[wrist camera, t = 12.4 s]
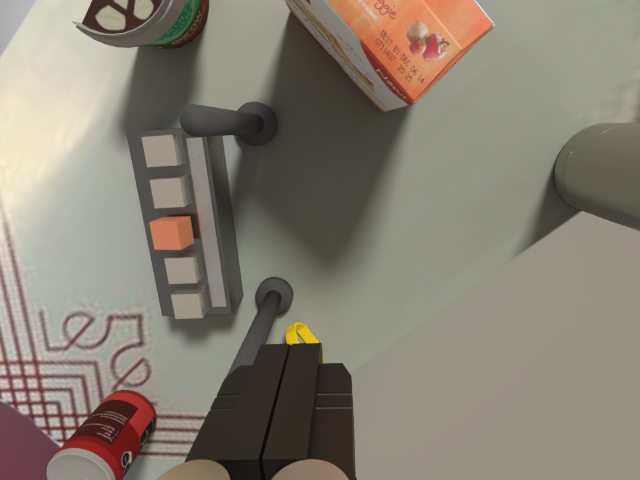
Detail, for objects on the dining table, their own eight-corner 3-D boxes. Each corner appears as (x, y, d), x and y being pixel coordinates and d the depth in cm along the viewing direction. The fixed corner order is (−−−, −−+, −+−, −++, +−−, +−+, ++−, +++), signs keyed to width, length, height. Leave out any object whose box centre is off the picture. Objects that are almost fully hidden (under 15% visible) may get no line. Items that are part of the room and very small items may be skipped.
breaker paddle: (190, 216, 39) (176, 221, 37) (194, 242, 40) (181, 249, 38) (164, 216, 40) (149, 222, 38) (168, 242, 41) (154, 249, 39)
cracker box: (286, 13, 39) (222, -109, 19) (329, -37, 38) (310, -226, 17) (380, 117, 41) (412, 107, 21) (424, 74, 40) (504, 19, 20)
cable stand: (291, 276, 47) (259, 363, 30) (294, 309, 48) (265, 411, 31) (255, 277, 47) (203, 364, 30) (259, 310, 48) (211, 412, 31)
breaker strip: (221, 126, 42) (197, 126, 36) (243, 295, 48) (226, 322, 41) (150, 131, 43) (114, 132, 36) (180, 297, 48) (153, 324, 42)
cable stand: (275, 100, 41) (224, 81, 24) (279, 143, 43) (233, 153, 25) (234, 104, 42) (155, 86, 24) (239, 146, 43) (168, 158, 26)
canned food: (130, 444, 56) (79, 518, 45) (92, 403, 54) (30, 470, 43) (170, 421, 54) (127, 492, 43) (132, 378, 52) (78, 441, 42)
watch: (285, 322, 49) (275, 345, 43) (303, 311, 48) (295, 333, 43) (312, 359, 50) (306, 387, 44) (330, 349, 49) (326, 375, 43)
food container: (183, 87, 42) (135, 75, 32) (134, 51, 41) (69, 28, 31) (244, -23, 38) (210, -73, 29) (191, -63, 38) (138, -129, 28)
